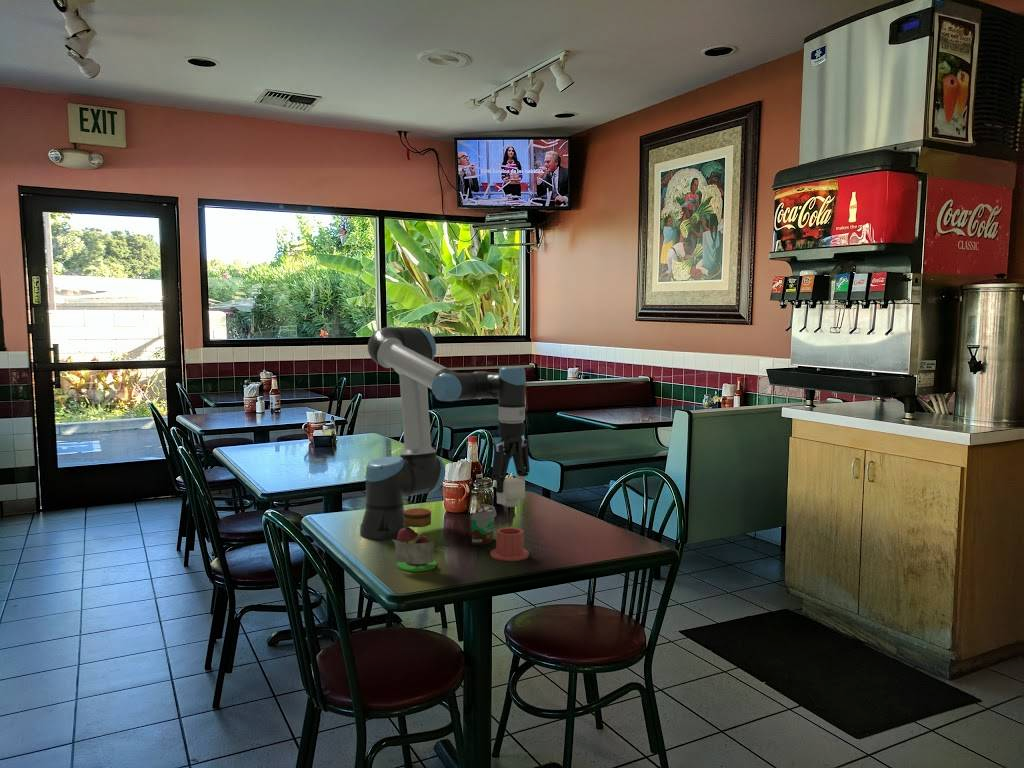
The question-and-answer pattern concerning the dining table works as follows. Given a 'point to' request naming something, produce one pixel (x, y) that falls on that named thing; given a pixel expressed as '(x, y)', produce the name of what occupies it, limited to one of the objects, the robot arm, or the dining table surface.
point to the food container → (483, 524)
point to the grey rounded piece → (514, 491)
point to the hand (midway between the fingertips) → (510, 500)
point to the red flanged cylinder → (509, 545)
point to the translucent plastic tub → (418, 552)
